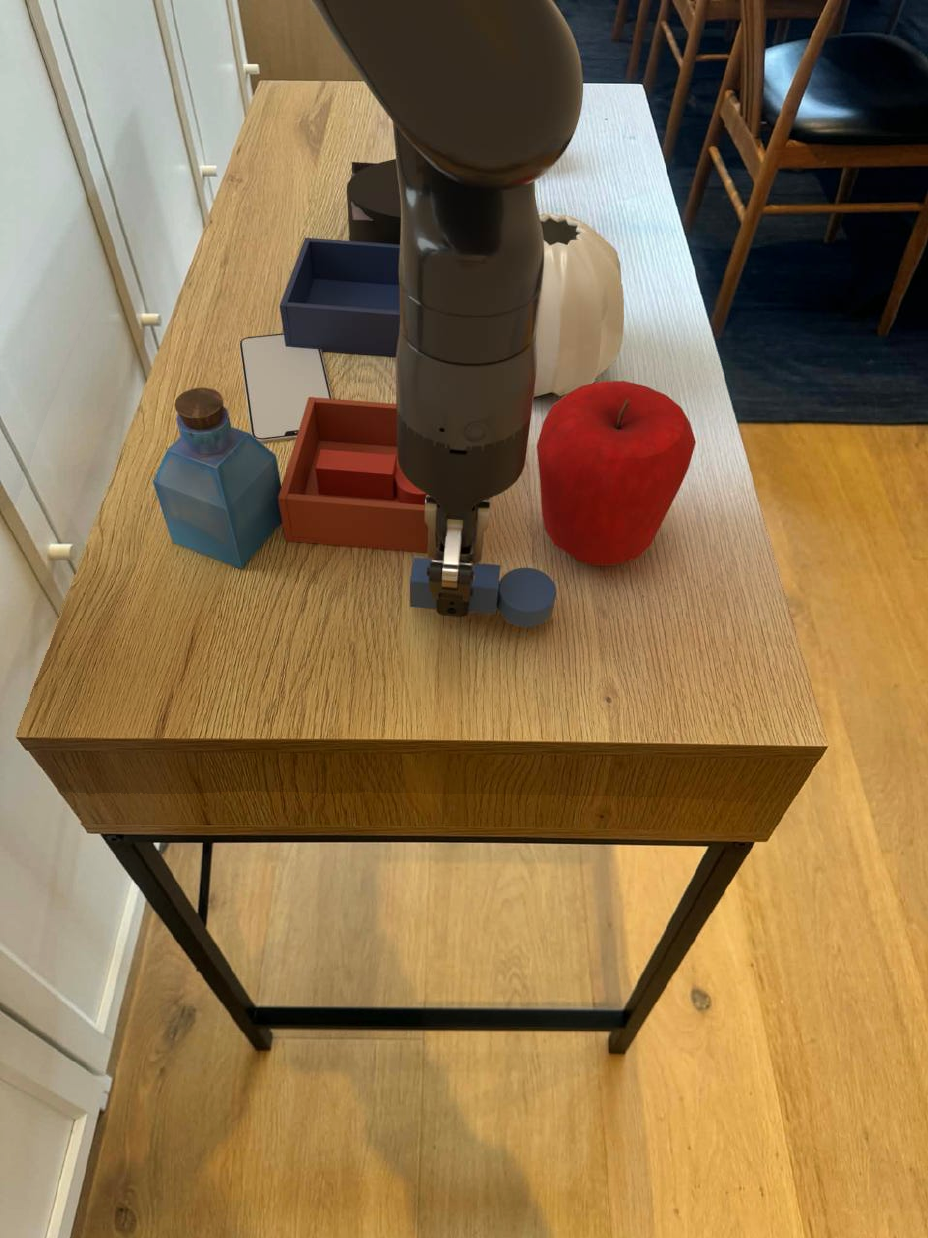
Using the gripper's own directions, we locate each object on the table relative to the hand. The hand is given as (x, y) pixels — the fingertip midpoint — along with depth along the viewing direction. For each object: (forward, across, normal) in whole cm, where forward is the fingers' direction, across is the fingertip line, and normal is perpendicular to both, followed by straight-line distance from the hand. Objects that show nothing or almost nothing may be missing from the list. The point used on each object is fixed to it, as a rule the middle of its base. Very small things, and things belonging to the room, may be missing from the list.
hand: (454, 596), depth 62 cm
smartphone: (+3, -24, -17) cm, 30 cm away
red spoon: (+1, -12, -7) cm, 13 cm away
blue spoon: (0, 0, +2) cm, 2 cm away
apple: (+2, -8, +10) cm, 13 cm away
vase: (+2, -30, +5) cm, 30 cm away
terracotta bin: (+2, -12, -7) cm, 14 cm away
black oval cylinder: (+2, -50, -7) cm, 51 cm away
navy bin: (+2, -36, -12) cm, 37 cm away
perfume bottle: (+2, -6, -18) cm, 19 cm away
